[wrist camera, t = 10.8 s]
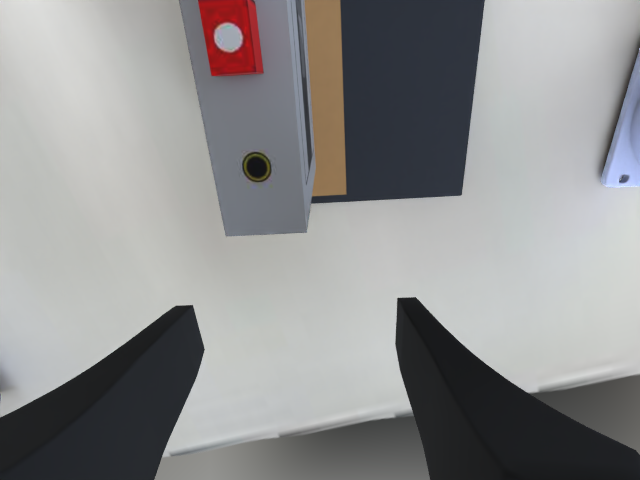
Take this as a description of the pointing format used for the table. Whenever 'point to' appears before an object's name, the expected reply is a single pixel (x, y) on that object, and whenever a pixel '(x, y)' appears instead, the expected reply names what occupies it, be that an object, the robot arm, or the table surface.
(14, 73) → the table surface
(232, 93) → the cassette player
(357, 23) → the desk mat
